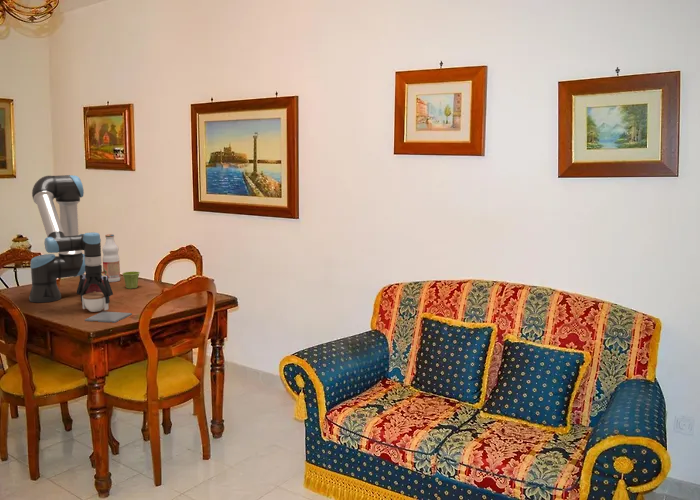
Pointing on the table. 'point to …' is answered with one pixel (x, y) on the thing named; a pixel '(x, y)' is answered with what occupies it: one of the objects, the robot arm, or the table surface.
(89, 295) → the lidded jar
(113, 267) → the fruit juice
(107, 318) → the slate board
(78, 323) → the table surface
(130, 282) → the plant pot
